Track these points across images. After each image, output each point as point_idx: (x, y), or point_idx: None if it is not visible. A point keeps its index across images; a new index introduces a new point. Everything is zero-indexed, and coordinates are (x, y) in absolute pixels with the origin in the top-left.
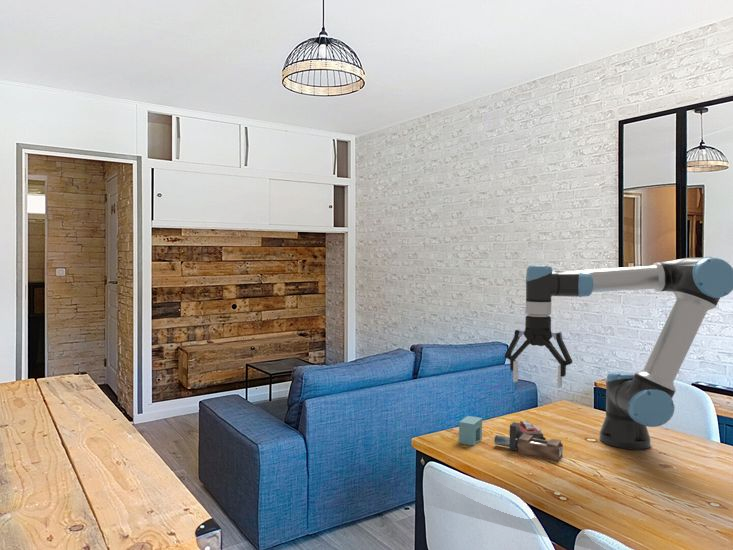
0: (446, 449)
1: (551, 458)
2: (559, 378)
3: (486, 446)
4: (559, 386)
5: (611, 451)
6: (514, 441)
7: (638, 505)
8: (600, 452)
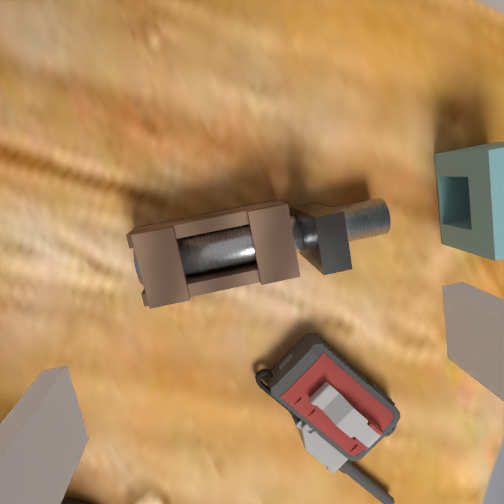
0: (495, 46)
1: (159, 223)
2: (9, 422)
3: (395, 184)
4: (43, 375)
5: None
6: (304, 208)
7: None
8: None
